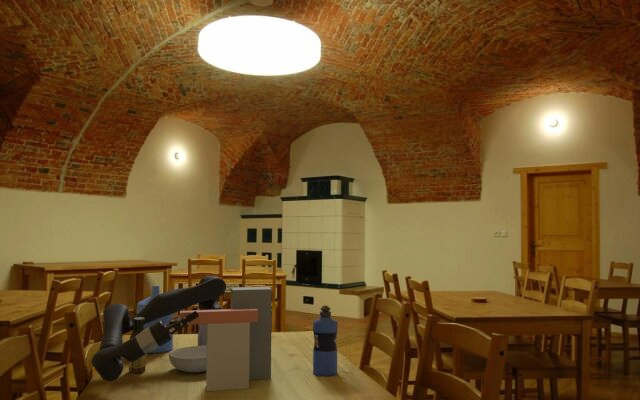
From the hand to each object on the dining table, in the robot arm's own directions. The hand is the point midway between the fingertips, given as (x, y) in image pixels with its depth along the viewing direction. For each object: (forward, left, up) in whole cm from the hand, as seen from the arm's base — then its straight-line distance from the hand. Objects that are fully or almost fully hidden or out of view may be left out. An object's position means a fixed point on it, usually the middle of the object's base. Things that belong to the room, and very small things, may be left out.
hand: (197, 311), depth 183 cm
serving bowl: (-17, +20, -26) cm, 37 cm away
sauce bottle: (-35, +7, -26) cm, 44 cm away
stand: (+7, +14, -26) cm, 31 cm away
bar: (+5, +5, -4) cm, 8 cm away
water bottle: (+29, +38, -26) cm, 55 cm away
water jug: (-55, +37, -26) cm, 71 cm away
